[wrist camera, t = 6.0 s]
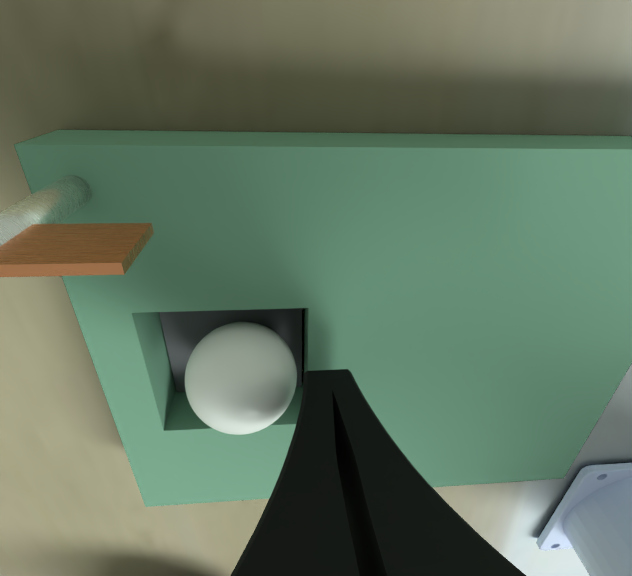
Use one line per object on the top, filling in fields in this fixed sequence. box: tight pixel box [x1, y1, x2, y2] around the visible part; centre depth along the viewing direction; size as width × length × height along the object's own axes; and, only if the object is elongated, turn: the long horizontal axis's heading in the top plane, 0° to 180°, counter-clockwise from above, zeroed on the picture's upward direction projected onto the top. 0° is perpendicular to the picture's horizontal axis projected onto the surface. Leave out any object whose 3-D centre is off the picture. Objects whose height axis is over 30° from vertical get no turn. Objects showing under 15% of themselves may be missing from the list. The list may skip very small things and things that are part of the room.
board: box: [14, 130, 632, 507], centre depth 14 cm, size 18×14×2 cm
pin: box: [0, 175, 154, 277], centre depth 8 cm, size 3×1×6 cm, turn 88°
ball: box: [185, 322, 297, 435], centre depth 12 cm, size 4×4×4 cm
